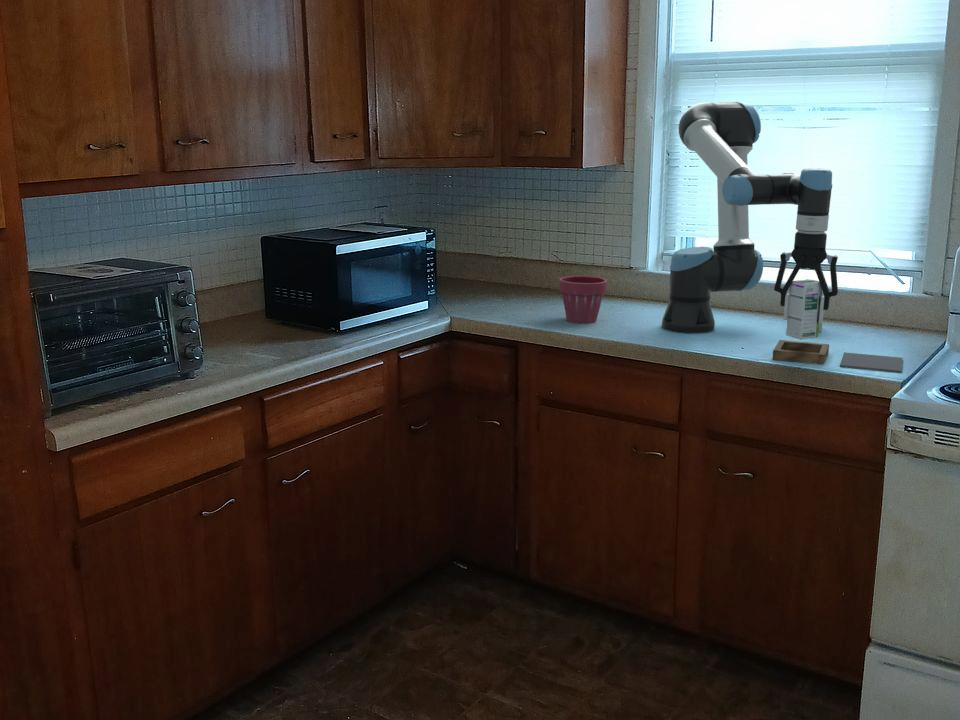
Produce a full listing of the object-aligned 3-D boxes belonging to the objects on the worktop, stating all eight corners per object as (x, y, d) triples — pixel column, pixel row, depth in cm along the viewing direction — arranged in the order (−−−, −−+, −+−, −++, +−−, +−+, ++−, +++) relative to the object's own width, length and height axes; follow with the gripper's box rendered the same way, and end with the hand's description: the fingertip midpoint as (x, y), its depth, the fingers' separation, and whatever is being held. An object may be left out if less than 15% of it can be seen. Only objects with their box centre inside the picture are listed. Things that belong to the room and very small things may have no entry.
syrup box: (800, 340, 239) (806, 283, 235) (784, 335, 244) (789, 279, 240) (818, 338, 241) (823, 282, 237) (802, 332, 247) (807, 278, 243)
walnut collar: (772, 359, 241) (773, 350, 240) (778, 348, 252) (779, 339, 251) (824, 364, 236) (824, 354, 235) (828, 353, 247) (829, 344, 246)
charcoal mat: (839, 366, 234) (840, 364, 233) (843, 354, 246) (844, 352, 246) (901, 372, 228) (901, 370, 228) (902, 359, 240) (902, 357, 240)
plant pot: (612, 318, 290) (613, 277, 287) (595, 327, 278) (596, 284, 275) (569, 314, 297) (570, 273, 294) (551, 322, 285) (551, 280, 282)
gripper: (766, 231, 236) (759, 319, 243) (854, 235, 228) (844, 327, 234) (770, 227, 243) (763, 313, 249) (856, 232, 235) (847, 321, 241)
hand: (802, 320), depth 242 cm, fingers closed on syrup box, 8 cm apart
